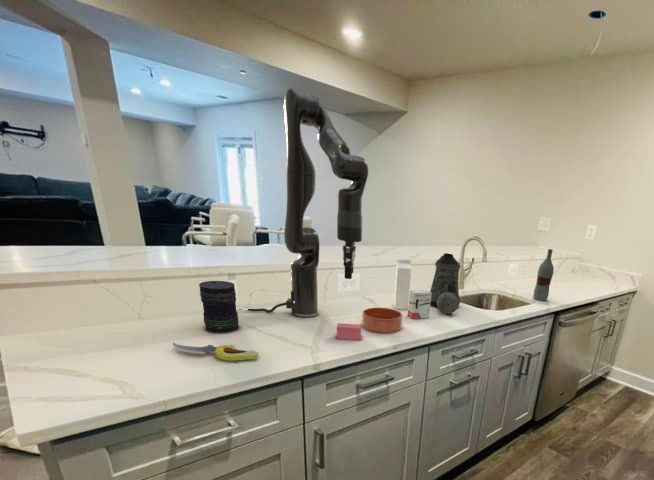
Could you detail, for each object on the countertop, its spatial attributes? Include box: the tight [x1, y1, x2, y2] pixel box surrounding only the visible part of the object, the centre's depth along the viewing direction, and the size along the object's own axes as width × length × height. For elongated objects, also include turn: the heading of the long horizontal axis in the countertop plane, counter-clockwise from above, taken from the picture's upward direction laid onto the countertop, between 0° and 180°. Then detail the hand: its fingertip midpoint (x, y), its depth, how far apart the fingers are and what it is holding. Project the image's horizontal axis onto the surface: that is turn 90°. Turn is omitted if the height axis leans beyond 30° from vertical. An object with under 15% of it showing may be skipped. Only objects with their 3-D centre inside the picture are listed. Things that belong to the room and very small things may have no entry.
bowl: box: [361, 307, 403, 334], centre depth 150 cm, size 15×15×6 cm
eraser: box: [336, 322, 362, 341], centre depth 135 cm, size 8×4×4 cm, turn 102°
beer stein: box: [429, 252, 461, 309], centre depth 189 cm, size 16×19×25 cm
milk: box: [393, 259, 412, 310], centre depth 175 cm, size 6×6×22 cm
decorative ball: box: [437, 292, 459, 315], centre depth 178 cm, size 10×10×10 cm
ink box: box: [407, 288, 432, 320], centre depth 167 cm, size 8×5×12 cm, turn 123°
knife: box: [172, 342, 259, 361], centre depth 110 cm, size 8×3×25 cm
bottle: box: [532, 248, 555, 302], centre depth 229 cm, size 9×9×30 cm
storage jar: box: [198, 280, 240, 334], centre depth 126 cm, size 10×10×15 cm
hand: (349, 275), depth 127 cm, fingers open, 8 cm apart
